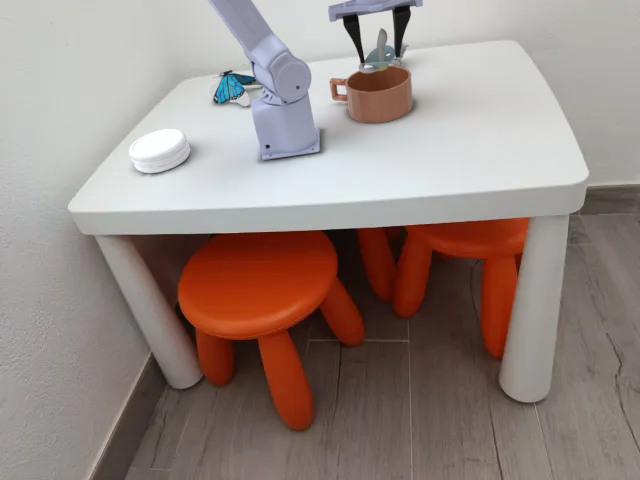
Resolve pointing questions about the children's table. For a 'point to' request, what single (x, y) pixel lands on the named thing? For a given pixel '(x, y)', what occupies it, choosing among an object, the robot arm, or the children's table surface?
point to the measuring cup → (376, 94)
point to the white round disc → (159, 150)
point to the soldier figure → (398, 60)
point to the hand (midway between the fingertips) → (379, 58)
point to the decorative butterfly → (232, 88)
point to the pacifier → (379, 55)
